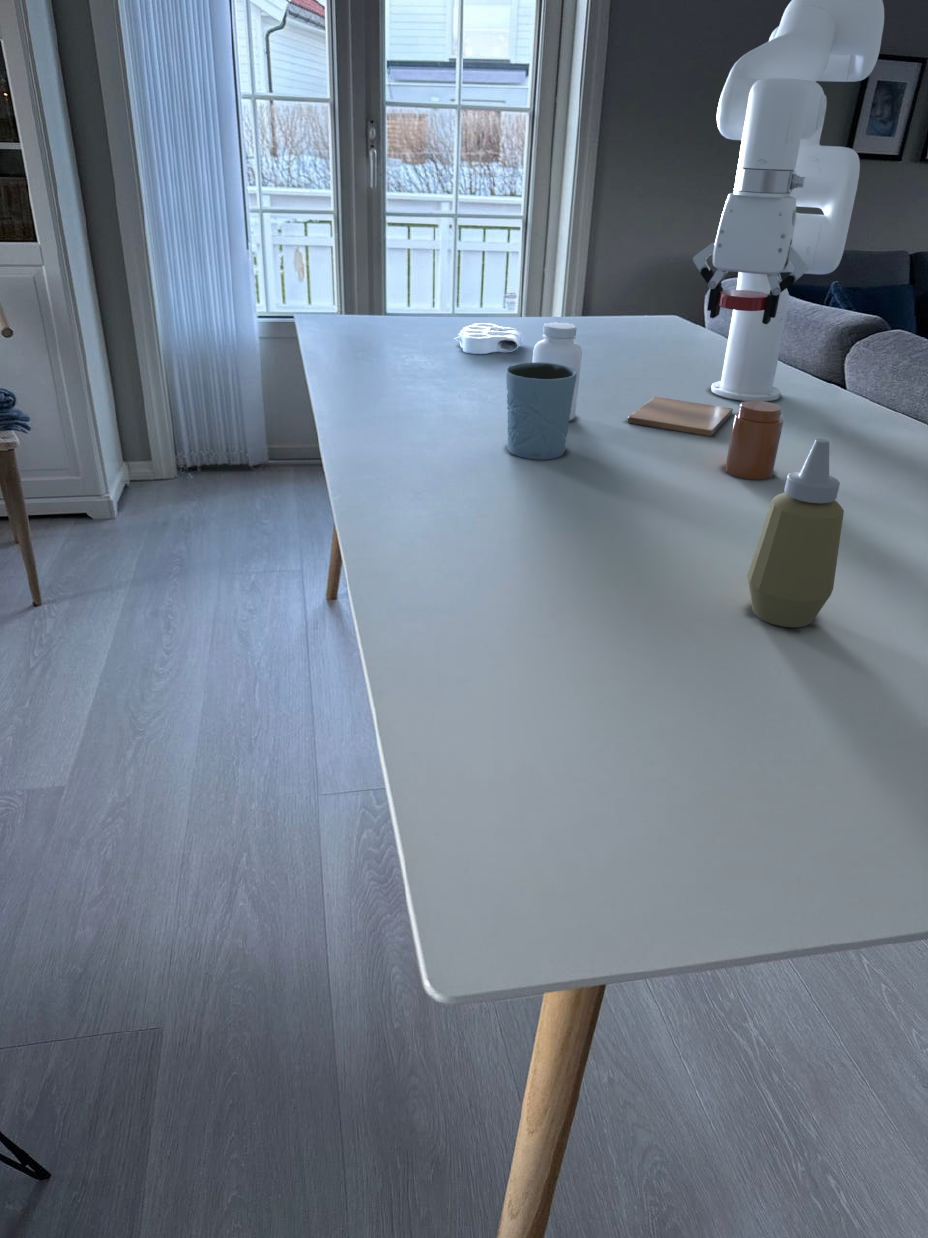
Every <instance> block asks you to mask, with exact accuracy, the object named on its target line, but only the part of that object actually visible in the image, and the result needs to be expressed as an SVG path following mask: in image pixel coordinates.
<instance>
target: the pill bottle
mask: <svg viewBox="0 0 928 1238" xmlns="http://www.w3.org/2000/svg"><path fill="white" fill-rule="evenodd" d="M577 328H578V327H577V326H576V325H575V324H573V323H568V322H560V321H559V322H557V321H554V322H546V323H544V324H543V328H542V337H543V339H541V340H539V341H537V342H536V343H535V345H534V347H533V351H532V362H531V363H552V364H558V365H563V366H567V367H570V368H572V369H574V370H575V371H576V372H577V377H576V382H575V388H574V394H573V399H572V406H571V413H570V417H569V418H570V419H569V422H570V421H573V420H574V418H575V417H576V412H577V403H578V393H579V384H580V376H581V375H580V374H581V367H582V357H583V352H582V347H581V345H579V344H578V343H577V342H575V340H576V336H577Z"/></svg>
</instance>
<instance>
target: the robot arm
mask: <svg viewBox="0 0 928 1238" xmlns="http://www.w3.org/2000/svg"><path fill="white" fill-rule="evenodd" d="M884 26H885V6H884V1H883V0H790V2H789V3H788V5H787V6H786V8H785V9H784V11H783V14H782V16H781V20H780V22H779V26H777V27H776V28H775V29H774V30H772V32H771V34H770V36H769V39H768V41H766V42H765V43H763V44H761V45H759V46H757V47H755V48H753V49H752V50H750V51H748V52H746V53H744V54H743V55H742V56H741V57H739V59H738V60H736V61H735V62H734V64H733V66H732V67H731V69H730V71H729V73H728V76H727V78H726V81H725V83H724V85H723V88H722V91H721V93H720V97H719V101H718V106H717V109H716V110H717V111H716V124H717V129H718V130H719V133H720V135H721V136H723V137H724V138H725V139H728V140H732V141H741V144H740V149H739V155H738V156H739V158H738V163H737V167H736V168H737V169H736V175H735V181H734V188H733V192H730V193H728V195H727V198H726V200H725V203H724V207H723V211H722V213H721V217H720V221H719V225H718V229H717V233H716V237H715V240H714V241H713V242H711V243H710V244H709V245H707V246H706V247H704V248H703V249H702V250H700V251H699V252H698V253H697V254H695V255H694V256H693V257H692V262H693V263H694V265H695V267H696V268H697V270H698V271H699V272H700V275H701V277H702V279H703V280H704V282H705V283H706V284H707V286H708V288H709V296H708V302H707V308H706V309H707V311H709V312H710V314H709V318H710V319H714V318H717V317H718V316H719V315H720V313H721V307H720V306H718V297H719V295H720V291H723V290H724V288H723V286H722V285H723V284H722V282H723V281H724V280H725V278H726V276H727V275H728V273H729V272H731V273H732V272H734V273H738V274H737V284H736V289H735V290H749V291H757V292H762V293H766V294H768V295H767V298H766V304H765V309H764V310H762V311H741V310H732V315H731V320H730V326H729V332H728V338H727V344H726V350H725V356H724V361H723V366H722V367H723V368H722V373H721V380H718V381H715V382H713V383H711V388H710V390H711V392H712V393H713V394H715V395H717V396H718V397H722V398H726V399H729V400H734V401H735V400H736V401H742V402H746V401H763V402H772V401H776V400H779V398H780V397H781V390H780V389H779V388H778V387H776V386H774V383H775V378H776V373H777V367H778V362H779V357H780V352H781V347H782V342H783V336H784V332H785V328H786V327H785V326H786V321H787V316H788V311H789V307H790V293H789V291H788V288H789V287H790V286H792V285H793V284H794V283H795V282H796V281H798V280H799V279H800V278H801V277H802V276H803V275H806V274H807V275H808V274H809V275H828V274H831V273H833V272H834V271H835V270H836V269H837V268H838V267H839V265H840V263H841V260H842V257H843V255H844V251H845V247H846V242H847V237H848V233H849V228H850V223H851V219H852V213H853V209H854V204H855V199H856V194H857V190H858V185H859V178H860V172H861V170H860V169H861V163H860V157H859V154H858V153H857V151H855V149H852V148H850V147H846V146H835V145H822V144H820V141H821V136H822V131H823V127H824V123H825V118H826V112H827V105H828V101H827V99H828V98H827V95H826V94H825V92H824V89H823V87H822V86H821V85H820V84H819V83H818V82H836V83H837V82H839V83H840V82H842V83H845V82H846V83H850V82H853V83H855V82H861V81H863V80H866V78H868V77H869V76H870V75H871V73H872V72H873V70H874V68H875V67H876V64H877V61H878V58H879V55H880V51H881V45H882V38H883V32H884ZM797 207H801V208H817V209H820V210H821V211H822V212H823V214H817V213H816V214H815V213H801V212H800V213H799V212H797ZM710 256H712V266H713V267H714V268H716V270H715V272H714V271H713V269H712V268H711V267H710V266H709V264H708V262H707V259H708V258H709V257H710ZM781 273H790V274H789V275H788V276H786V277H785V278H784V279H782V275H781Z"/></svg>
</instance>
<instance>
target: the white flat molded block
mask: <svg viewBox="0 0 928 1238" xmlns="http://www.w3.org/2000/svg"><path fill="white" fill-rule="evenodd" d="M457 335H458V336H457V337H454V338H453V340H455V341H456V342H457V343H459V346H460V348H461V349H462V351H463V352H464V353H465V354H466V353H467V354H472V355H485V354H491V353H512V352H514V351H517V350H518V349H519V346H520V344H521V342H522V340H523V339H524V333H523V332H522V331H520V330H519V329H517V328H513V327H506V326H499V325H497V324H494V323H487V322H485V323H484V322H479V323H473V324H471V325H468V326H467V325H466V326H464V327H462V329H461V330H460V332H459V333H457Z"/></svg>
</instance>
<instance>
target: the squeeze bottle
mask: <svg viewBox="0 0 928 1238" xmlns="http://www.w3.org/2000/svg"><path fill="white" fill-rule="evenodd" d="M786 477H787V478H786V481H785V485H784V492H782V493H781V492H780V493H779V494H777V495H775V496H774V497H773V498H772V500H771V502H770V505H769V508H768V511H767V515H766V518H765V521H764V522H763V523H764V524H763V525H762V529H761V532H760V534H759V535H760V536H759V539H758V541H757V545H756V548H755V551H754V555H753V557H752V560H751V563H750V566H749V569H748V573H747V576H746V577H747V581H748V582H747V584H748V589H749V597H750V602H751V609H752V612H753V614H754V616H756V617H757V618H759V619H760V620H762V621H764V622H766V623H769V624H771V625H775V626H779V627H785V628H801V627H802V628H803V627H806V626H809V625H811V624H812V623H813V621H814V620H816V619H815V618H817V616H818V614H819V613H820V611H821V610H822V609H823V607H824V606H825V604H826V603H827V602H828V600H829V598H830V597H831V595H832V593H833V591H834V586H835V579H836V573H837V564H838V557H839V549H840V541H841V535H842V527H843V521H844V513H845V510H844V508H843V507H842V506H841V504H840V503H839V502H838V501H837V497H838V493H839V488H840V485H841V482H840V481H839V479H837V478H836V477H834V476H833V475H830V440H828V439H826V438H815V439H814V442H813V445H812V446H811V449H810V451H809V453H808V455H807V457H806V460H805V461H804V463H803V466H802V468H801V470H796V471H792V472H790V473H788V475H787V476H786Z"/></svg>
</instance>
